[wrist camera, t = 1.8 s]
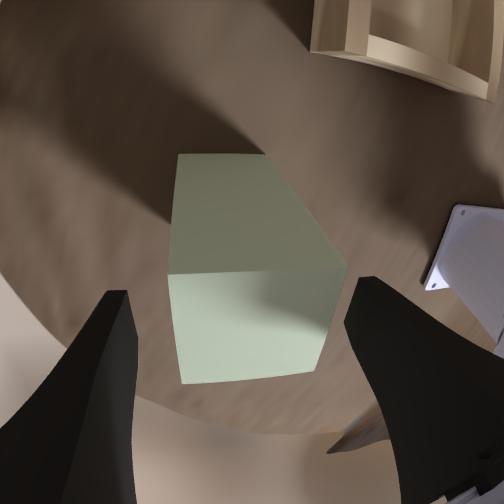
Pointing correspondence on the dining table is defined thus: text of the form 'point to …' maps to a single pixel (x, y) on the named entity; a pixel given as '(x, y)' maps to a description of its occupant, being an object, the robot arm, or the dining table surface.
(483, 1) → the open beige box
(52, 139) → the dining table surface
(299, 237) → the sage block
